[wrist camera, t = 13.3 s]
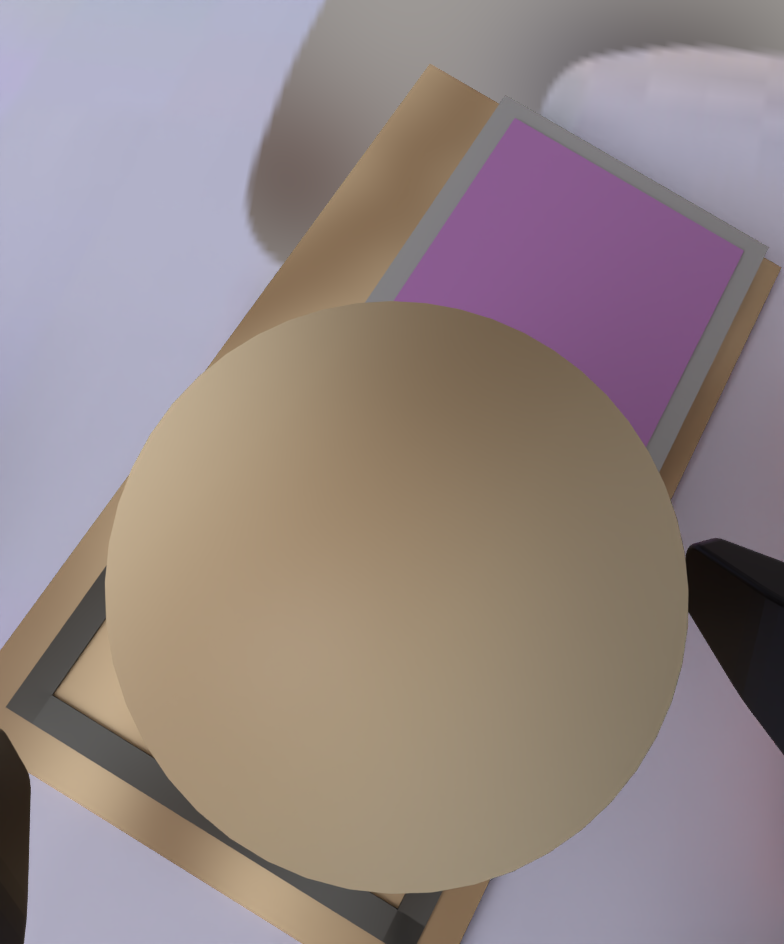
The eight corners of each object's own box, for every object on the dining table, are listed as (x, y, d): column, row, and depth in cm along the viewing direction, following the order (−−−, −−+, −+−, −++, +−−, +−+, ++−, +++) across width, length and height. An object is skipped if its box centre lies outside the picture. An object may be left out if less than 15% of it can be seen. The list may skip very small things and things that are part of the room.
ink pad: (750, 263, 24) (770, 245, 23) (629, 508, 22) (646, 500, 21) (497, 116, 25) (506, 92, 24) (346, 340, 22) (349, 324, 21)
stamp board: (774, 273, 25) (783, 266, 25) (420, 1011, 18) (424, 1021, 18) (428, 72, 25) (430, 61, 25) (-45, 720, 19) (-54, 722, 18)
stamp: (503, 600, 21) (967, 463, 6) (366, 824, 19) (574, 1383, 4) (303, 462, 21) (301, 29, 7) (148, 670, 19) (-340, 706, 5)
